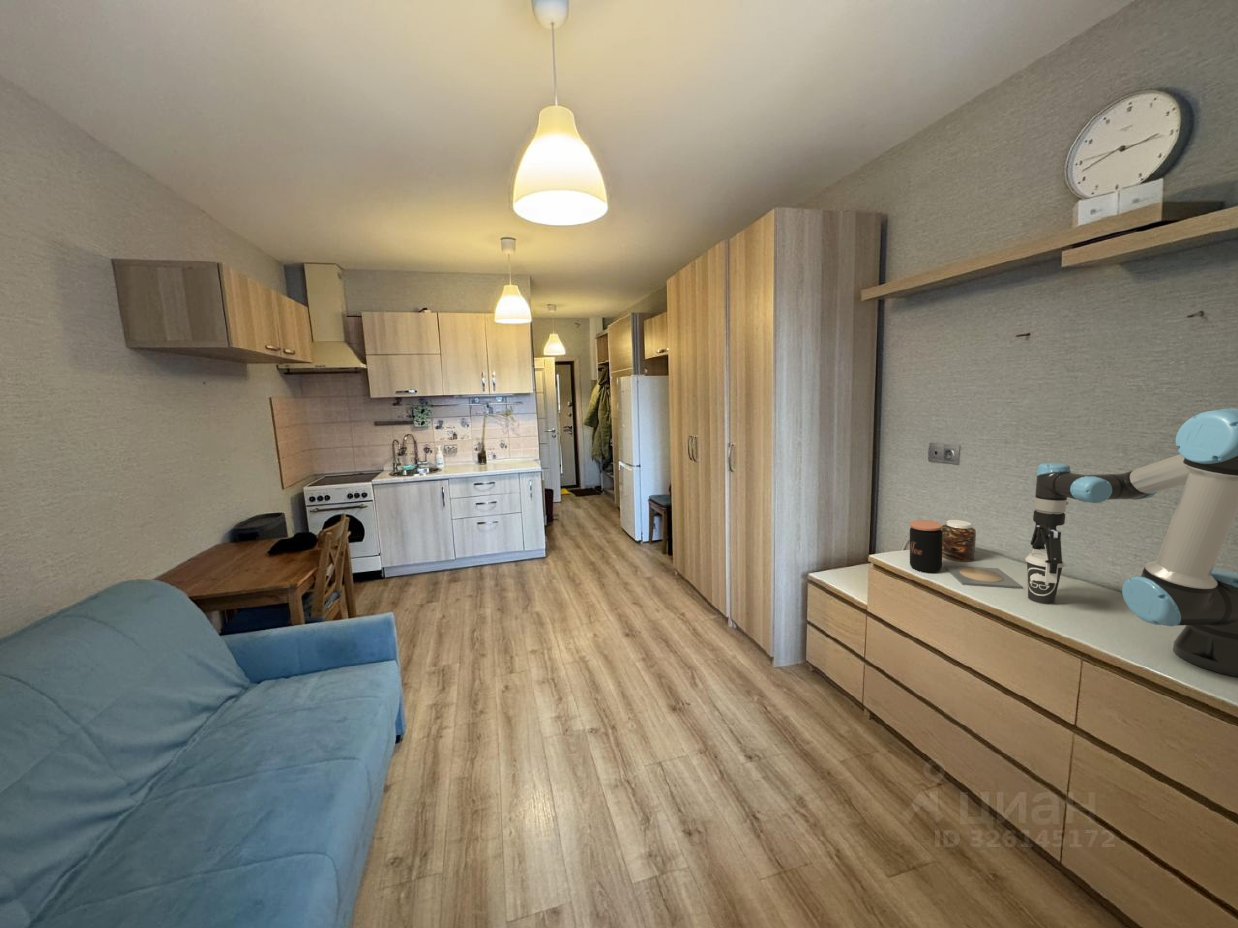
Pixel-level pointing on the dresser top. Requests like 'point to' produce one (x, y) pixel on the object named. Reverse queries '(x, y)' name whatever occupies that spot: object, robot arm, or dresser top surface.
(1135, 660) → the dresser top surface
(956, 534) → the jar
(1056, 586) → the coffee cup
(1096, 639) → the dresser top surface
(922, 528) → the coffee jar
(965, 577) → the trivet
